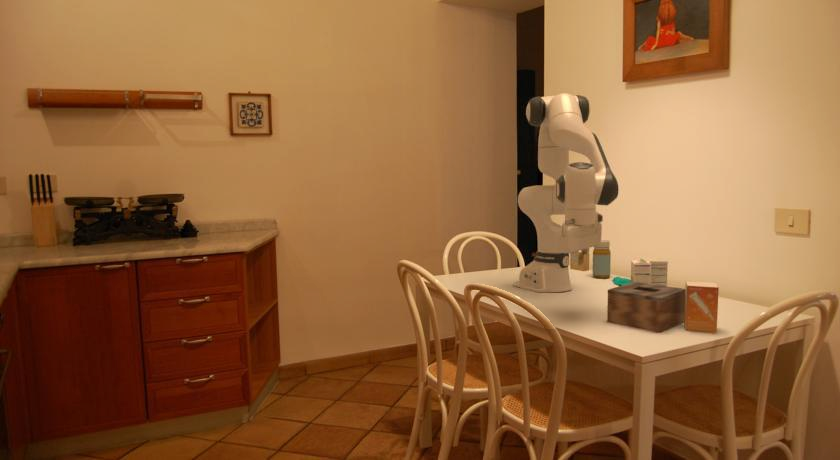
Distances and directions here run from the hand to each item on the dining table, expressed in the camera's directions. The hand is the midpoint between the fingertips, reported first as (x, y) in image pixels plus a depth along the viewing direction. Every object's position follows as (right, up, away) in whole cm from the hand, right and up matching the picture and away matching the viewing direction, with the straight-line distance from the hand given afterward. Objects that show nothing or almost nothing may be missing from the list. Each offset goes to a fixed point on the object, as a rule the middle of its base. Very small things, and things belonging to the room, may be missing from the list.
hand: (579, 264), depth 174 cm
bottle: (+28, -10, +68) cm, 74 cm away
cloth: (+33, -12, +52) cm, 63 cm away
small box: (+32, -18, -9) cm, 38 cm away
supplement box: (+36, -13, +35) cm, 52 cm away
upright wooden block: (0, -2, 0) cm, 2 cm away
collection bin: (+19, -17, -1) cm, 26 cm away
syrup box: (+26, -15, +21) cm, 37 cm away
